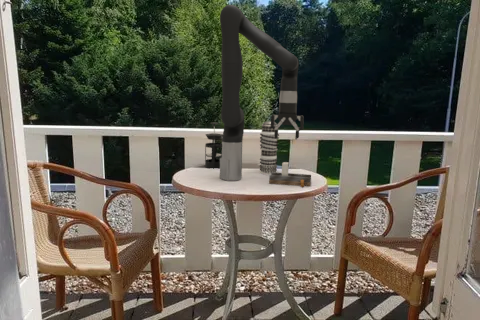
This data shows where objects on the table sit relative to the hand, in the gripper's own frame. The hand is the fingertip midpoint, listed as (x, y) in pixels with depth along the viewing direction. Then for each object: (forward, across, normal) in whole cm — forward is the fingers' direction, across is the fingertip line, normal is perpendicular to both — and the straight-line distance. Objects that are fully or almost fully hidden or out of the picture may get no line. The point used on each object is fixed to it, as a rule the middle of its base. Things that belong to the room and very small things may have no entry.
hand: (286, 138), depth 184 cm
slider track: (+20, -3, 0) cm, 20 cm away
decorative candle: (+20, +10, -18) cm, 28 cm away
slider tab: (+18, 0, 0) cm, 18 cm away
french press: (+20, +38, -23) cm, 49 cm away
